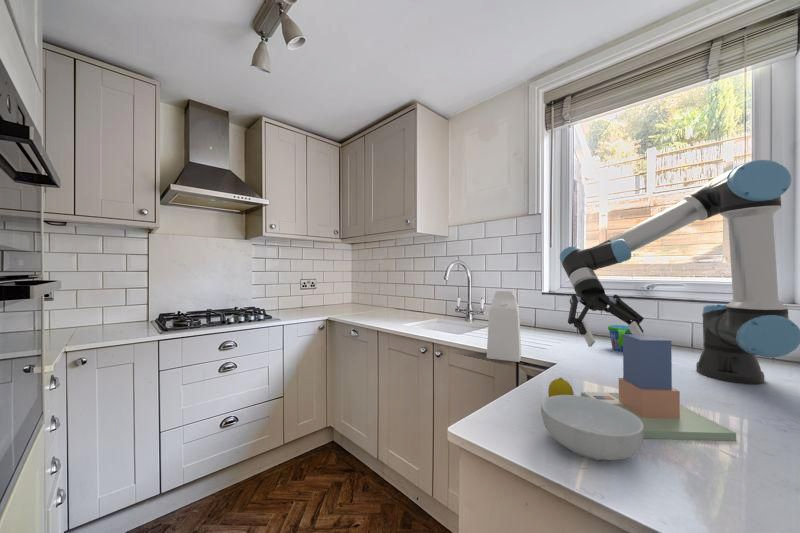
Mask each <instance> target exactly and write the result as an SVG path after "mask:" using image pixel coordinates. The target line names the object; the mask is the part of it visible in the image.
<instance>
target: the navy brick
mask: <svg viewBox="0 0 800 533" xmlns="http://www.w3.org/2000/svg"><path fill="white" fill-rule="evenodd" d="M672 361H673V360H672V339H667V338H664V337H660V336H657V335H653V334H643V335H641V334H623V352H622V362H623V365H622V369H623V370H622V371H623V372H622V373H623V374H622V375H623V377H622V378H623V379H624V380H626V381H628V382H630V383H632V384H634V385H636V386H637V387H639V388H641V389H666V390H672V388H673V387H672V386H673V383H672V382H673V378H672V375H673V374H672V373H673V372H672V371H673V369H672V368H673V367H672V366H673V364H672Z"/></svg>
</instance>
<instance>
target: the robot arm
mask: <svg viewBox="0 0 800 533" xmlns="http://www.w3.org/2000/svg"><path fill="white" fill-rule="evenodd" d="M791 184H792V175H791V172H790V171H789V170H788V169H787V167H786V166H784V165H783V164H780V163H779V162H777V161H774V160H770V159H769V160H768V159H757V160H751V161H748V162H745V163H741V164H740V165H736V166H735V167H733V168H732V169H730V170H728V171H726V172H725V173H723V174H721V175H719V176H717V177H714V178H712V179H711V180H710V181H708V182H707V183H704V185H702V186H701V187H700V188H698V189H696V190H694V191H693V192H691V193H689V194H687V195H685V196H684V197H683V200H682V201H680V202H678V203H677V204H674V205H673V206H671V207H669V208H667V209H665V210H663V211H661V212H659V213H657V214H655V215H653V216H652V217H649V218H647V219H646V220H643V221H642V222H640V223H638V224H636V225H633V226H632V227H631V228H628V229H626V230H624V231H623V232H621V233H618V234H617V235H615V236H613V237H610V238H609V239H607V240H605V241H603V242H601V243H599V244H597V245H595V246H592V247H589V248H585V249H581V247H580V246H577V245H576V246H573V245H572V246H568V247H566V248H564V249H563V250H562V251H561V252H560V253H559V260H560V262H561V266H562V268H563V269H564V271H565V274H566V275H567V278H568V279H569V282H570V283H571V286H572V288H573V289H574V292H575V294H572V295H571V297H570V298H569V304H570V309H569V314H568V318H567V323H568V324H569V325H573V326H574V328H576V329H578V332H579V334H580V335H583V337H584V339H585V342H586V344H587V346H588V347H589V348H590V347H591V348H592V347H593V346H594V344H595V343H596V340H595V337H594V335H593V333H592V331H591V328H590V327H589V324H588V323H587V321H586V320H585V321H584V318H586V315H587V313H588V311H589V310H591V311H592V312H596V311H599V312H605V313H607V314H612V315H613V316H615V317H616V318H618V319H619V320H621V321H622V322H624V323H626V324H627V326H628V328H629V329H630V331H631V333H632V334H641V335H644V329H643V328H642V326H641V325H640V324H641V323H642V322H643V320H644V317H643V316H642V315H641V314H639V313H638V312H637V311H636V310H634V309H633V308H632V307H630V306H629V304H627V303H626V302H624V301H623V300H622V299H621V298H620V297H619V295H617V294H613V295H612V296H608V295H607V294H606V292H605V288H604V287H603V285H602V283H601V282H600V279H599V277H598V275H597V274H596V272H595V271H596V270H599V269H602V268H607V267H610V266H613V265H617V264H618V265H619V264H621V263H624V262H627V261H629V260H631V259H632V252H635V251H637V250H638V249H641V248H643V247H645V246H647V245H648V244H651V243H653V242H655V241H658V240H659V239H661V238H664V237H665V236H667V235H669V234H671V233H674V232H676V231H678V230H680V229H682V228H684V227H686V226H688V225H689V224H693V223H694V222H696V221H706V220H707V219H709V218H712V217H714V216H717V215H719V214H720V216H722V217H724V218H726V219H727V222H728V237H729V241H728V242H729V255H730V256H729V257H730V268H731V273H730V274H731V286H732V287H731V289H732V290H731V291H732V300H731V301H729V302H728V303H727V304H717V303H715V304H705V306H703V307H702V308H703V310H702V315H701V316H702V343H703V344H702V345H703V347H702V351H701V354H700V355H699V359H698V361H697V362H696V366H695V367H696V370H695V371H696V372H697V373H699V374H701V375H703V376H705V377H706V376H707V377H710V378H713V379H718V380H721V381H726V382H732V383H739V384H750V385H752V384H753V385H756V384H757V385H759V384H760V385H761V384H763V383H765V374H764V372H763V371H762V369H761V366H760V363H759V361H758V359H757V356H760V357H764V358H779V357H784V356H786V355H788V354H791V353H792V352H795V351H796V350H797V349H798V348H799V346H800V327H799V326H798V325H797V324H795V322H793V321H792V320H791V319H790V318H789V307H788V306H787V305H785V304H783V303H782V302H780V300H779V286H778V275H777V274H778V272H777V258H776V254H777V253H776V244H775V243H776V242H775V224H774V223H775V222H774V214H775V213H776V212H778V211H779V210H780V209H781V208H782V198H781V196H782V195H783V194H785V193H786V192H787V190H789V188H790V187H791ZM579 303H580V304H582V305H583V306H584V307H583V309H582V311H581V312H580V314H579V316H578V317H576V315H577V309H578V304H579ZM608 306H609V307H608Z"/></svg>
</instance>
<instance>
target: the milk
mask: <svg viewBox="0 0 800 533" xmlns="http://www.w3.org/2000/svg"><path fill="white" fill-rule="evenodd" d="M491 301H492V302H491V303H490V306H489V310H488V320H487V321H488V324H487V326H488V328H487V346H486V347H487V348H486V359H490V360H491V359H492V360H499V361H507V362H517V363H520V362H521V357H522V343H521V320H520V307H519V304H518V302H517V299H516V296H515V294H514V292H513V290H496V291H495V293H494V295H493V298H492V300H491Z"/></svg>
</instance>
